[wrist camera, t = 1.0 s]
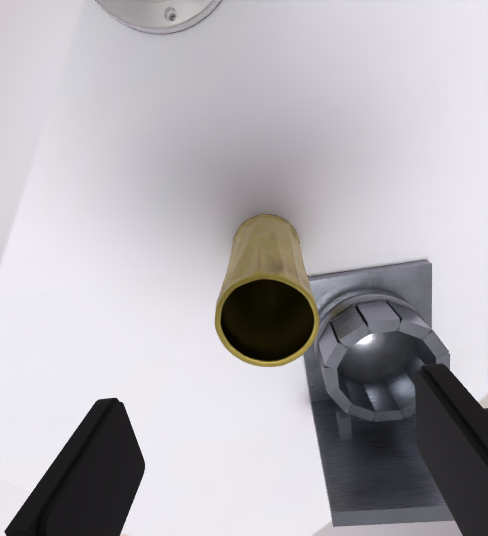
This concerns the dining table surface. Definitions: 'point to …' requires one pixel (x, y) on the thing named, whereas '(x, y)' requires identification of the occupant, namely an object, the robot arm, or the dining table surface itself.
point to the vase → (266, 296)
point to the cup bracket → (373, 393)
